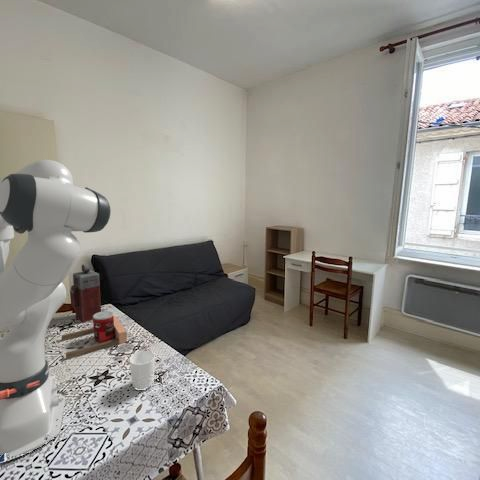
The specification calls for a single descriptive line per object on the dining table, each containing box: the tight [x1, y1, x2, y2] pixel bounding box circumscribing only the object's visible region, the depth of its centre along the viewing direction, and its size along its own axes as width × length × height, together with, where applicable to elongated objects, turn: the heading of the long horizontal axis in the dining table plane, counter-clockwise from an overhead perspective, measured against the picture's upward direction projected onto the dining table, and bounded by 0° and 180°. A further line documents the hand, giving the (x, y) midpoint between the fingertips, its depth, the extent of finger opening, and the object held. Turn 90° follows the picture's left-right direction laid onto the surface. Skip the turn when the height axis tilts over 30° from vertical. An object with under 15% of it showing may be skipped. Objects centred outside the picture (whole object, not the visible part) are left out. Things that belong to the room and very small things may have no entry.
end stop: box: [113, 315, 128, 345], centre depth 122 cm, size 18×3×5 cm, turn 38°
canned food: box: [92, 310, 115, 343], centre depth 118 cm, size 8×8×11 cm
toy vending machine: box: [69, 263, 102, 324], centre depth 135 cm, size 9×11×28 cm
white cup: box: [129, 350, 156, 389], centre depth 90 cm, size 8×8×10 cm
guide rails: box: [61, 327, 120, 360], centre depth 115 cm, size 18×19×2 cm
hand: (2, 273), depth 92 cm, fingers closed
